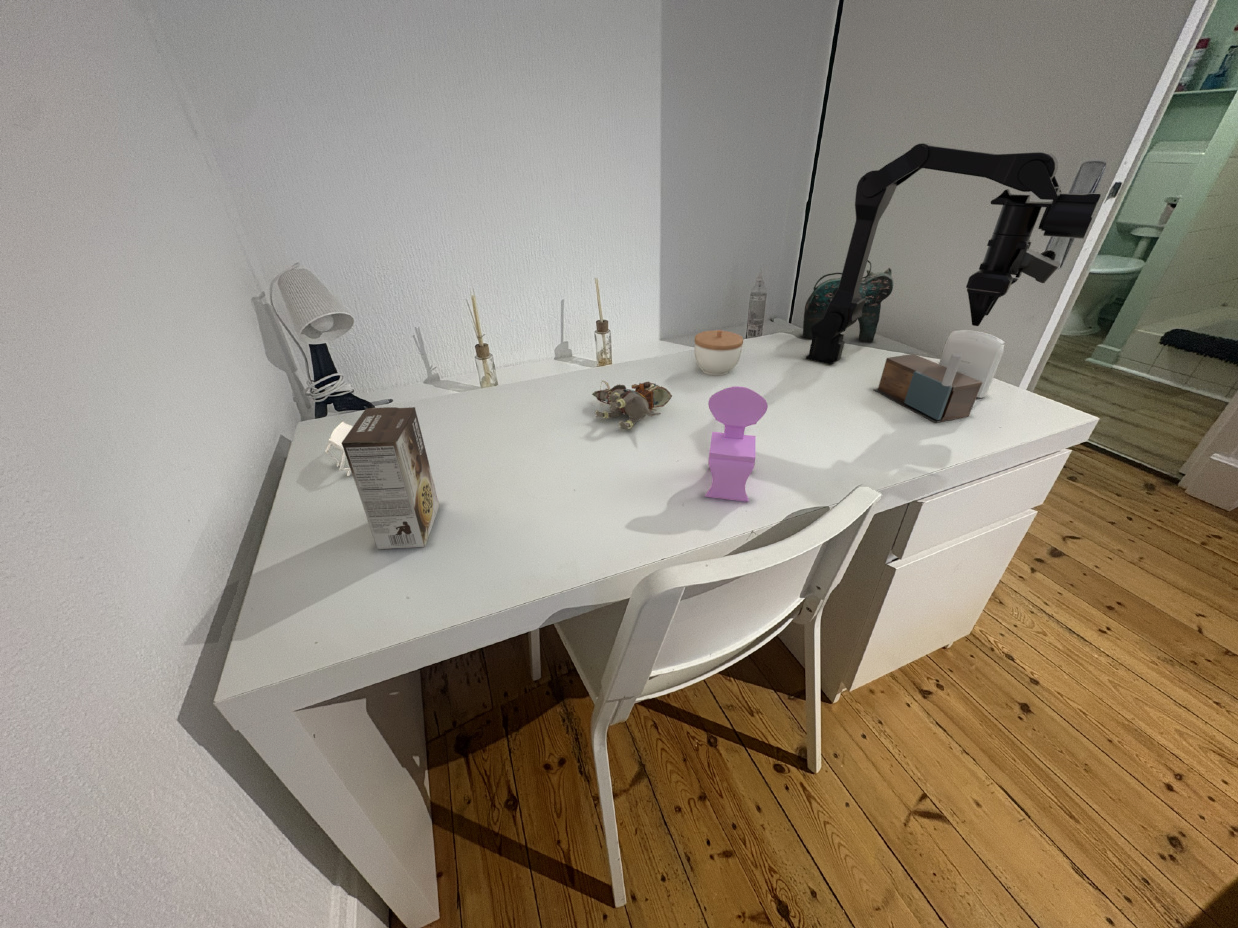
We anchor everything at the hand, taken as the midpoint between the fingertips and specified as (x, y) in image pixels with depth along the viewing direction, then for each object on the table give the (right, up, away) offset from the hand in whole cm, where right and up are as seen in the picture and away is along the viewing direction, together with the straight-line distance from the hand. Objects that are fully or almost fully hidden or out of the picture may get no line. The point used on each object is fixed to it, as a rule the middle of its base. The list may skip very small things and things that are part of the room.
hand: (980, 320), depth 100 cm
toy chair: (-54, -32, -22) cm, 66 cm away
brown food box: (-100, -37, -30) cm, 110 cm away
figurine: (-68, -18, 0) cm, 70 cm away
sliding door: (-13, -18, -2) cm, 22 cm away
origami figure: (-115, -27, -14) cm, 119 cm away
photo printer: (+1, -13, +8) cm, 15 cm away
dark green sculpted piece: (-12, +5, +36) cm, 39 cm away
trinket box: (-49, -7, +18) cm, 52 cm away
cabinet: (-11, -16, +2) cm, 19 cm away
